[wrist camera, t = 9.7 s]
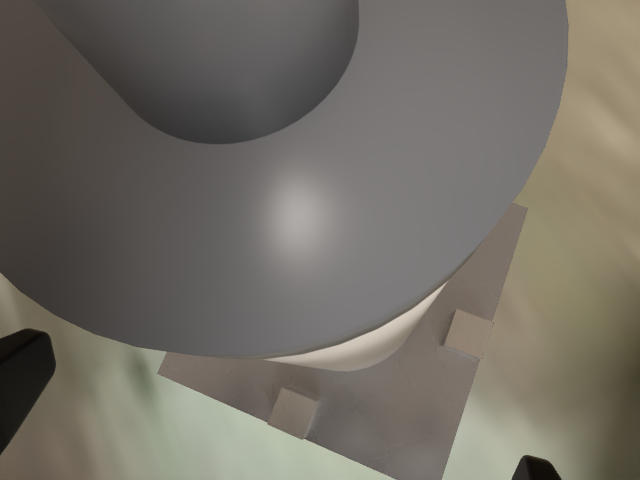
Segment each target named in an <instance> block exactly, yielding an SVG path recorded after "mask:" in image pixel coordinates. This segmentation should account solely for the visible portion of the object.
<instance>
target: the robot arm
mask: <svg viewBox="0 0 640 480" xmlns="http://www.w3.org/2000/svg"><path fill="white" fill-rule="evenodd" d="M55 368H56V360H55V356H54V352H53V347H52V343H51V338H50V336H49V335H48V334H47V333H46V332H43V331H39V330H35V329H23V330H21V331H18V332H16V333H13V334H11V335H8V336H6V337H3V338H1V339H0V455H1V453H2V452H3V451H4V449H5V448H6V447H7V445H8V444H9V443H10V441H11V440H12V438H13V437H14V435H15V434H16V432H17V431H18V429H19V428H20V426H21V424H22V423H23V421H24V420H25V418H26V417H27V415H28V414H29V412H30V410H31V409H32V407H33V406H34V404H35V403H36V401H37V399H38V398H39V396H40V395H41V393H42V392H43V390H44V389H45V387H46V385H47V384H48V382H49V381H50V379H51V378H52V376H53V374H54V371H55ZM512 480H562V479H561V478H560V476H559V474H558V473H557V471H556V470H555V468H554V467H553V465H552V464H551V463H550V462H549V461H547V460H545V459H541V458H537V457H533V456H529V455H525V456H523V457H522V458H521V460H520V462H519V464H518V466H517V468H516V471H515V473H514V475H513V477H512Z"/></svg>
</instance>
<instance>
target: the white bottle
mask: <svg viewBox="0 0 640 480" xmlns="http://www.w3.org/2000/svg"><path fill="white" fill-rule="evenodd" d="M568 26H569V25H568V17H567V10H566V2H565V0H0V273H1V274H3V275H4V276H5V277H6V278H7V279H8V280H9V281H10V282H11V283H12V284H13V285H14V286H15V287H16V288H17V289H18V290H19V291H20V292H22V293H23V294H25V295H26V296H28V297H29V298H31V299H32V300H34V301H35V302H37V303H38V304H39V305H41V306H42V307H44V308H45V309H47V310H48V311H50V312H51V313H53V314H54V315H56V316H58V317H60V318H62V319H64V320H66V321H68V322H70V323H72V324H75V325H77V326H79V327H81V328H83V329H85V330H87V331H89V332H91V333H93V334H96V335H100V336H103V337H106V338H109V339H113V340H116V341H119V342H122V343H126V344H129V345H132V346H136V347H141V348H147V349H154V350H160V351H167V352H173V353H180V354H187V355H195V356H203V357H212V358H220V359H262V360H269V361H275V362H281V363H288V364H294V365H300V366H307V367H313V368H320V369H326V370H332V371H354V370H360V369H364V368H368V367H370V366H373V365H375V364H378V363H379V362H381V361H383V360H385V359H386V358H388V357H389V356H390V355H392V354H393V353H394V352H395V351H396V350H397V349H398V348H399V347H400V346H401V345H402V344H403V343H404V342H405V340H406V339H407V338H408V336H409V335H410V334H411V332H412V331H413V329H414V328H415V326H416V325H417V324H418V322H419V321H420V319H421V318H422V317H423V315H424V314H425V312H426V311H427V310H428V308H429V307H430V305H431V304H432V303H433V301H434V300H435V298H436V297H437V296H438V294H439V293H440V291H441V290H442V289H443V287H444V286H445V284H446V283H447V282H448V280H449V279H450V278H451V277H452V276H453V275H454V274H455V273H456V272H457V271H458V270H459V269H460V268H461V267H462V266H463V265H464V264H465V263H466V261H467V260H468V259H469V258H470V257H471V256H472V255H473V254H474V252H475V251H476V250H477V248H478V247H479V246H480V244H481V243H482V242H483V240H484V239H485V238H486V237H487V235H488V234H489V233H490V231H491V230H492V229H493V227H494V226H495V225H496V223H497V222H498V221H499V219H500V218H501V217H502V215H503V214H504V213H505V211H506V210H507V209H508V207H509V206H510V204H511V203H512V202H513V200H514V199H515V198H516V196H517V195H518V194H519V192H520V191H521V190H522V188H523V187H524V185H525V183H526V181H527V179H528V177H529V176H530V174H531V172H532V170H533V168H534V166H535V164H536V163H537V161H538V159H539V157H540V155H541V153H542V151H543V149H544V148H545V145H546V142H547V139H548V137H549V134H550V131H551V128H552V125H553V123H554V120H555V117H556V114H557V111H558V109H559V105H560V100H561V95H562V90H563V85H564V79H565V74H566V69H567V56H568Z"/></svg>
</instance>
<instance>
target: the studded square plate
mask: <svg viewBox="0 0 640 480" xmlns="http://www.w3.org/2000/svg"><path fill="white" fill-rule="evenodd" d="M527 210H528V208H527V207H524V206H520V205H517V204H514V203H511V204H510V206H509V207H508V209H507V210H506V211H505V213H504V214H503V215H502V217H501V218H500V219H499V221H498V222H497V223H496V225H495V226H494V227H493V229H492V230H491V231H490V233H489V234H488V235H487V237H486V238H485V239H484V240H483V242H482V243H481V244H480V246H479V247H478V248H477V250H476V251H475V252H474V254H473V255H472V256H471V257H470V258H469V259H468V260H467V261H466V263H465V264H464V265H463V266H462V267H461V268H460V269H459V270H458V271H457V272H456V273H455V274H454V275H453V276H452V277H451V278H450V279H449V280H448V282H447V283H446V284H445V286H444V287H443V289H442V290H441V291H440V293H439V294H438V296H437V297H436V298H435V300H434V301H433V303H432V304H431V305H430V307H429V308H428V310H427V311H426V312H425V314H424V315H423V317H422V318H421V319H420V321H419V322H418V324H417V325H416V326H415V328H414V329H413V331H412V332H411V334H410V335H409V336H408V338H407V339H406V340H405V342H404V343H403V344H402V345H401V346H400V347H399V348H398V349H397V350H396V351H395V352H394V353H393V354H392V355H390V356H389V357H388V358H386V359H385V360H383V361H381V362H379V363H378V364H375V365H373V366H370V367H368V368H364V369H360V370H354V371H332V370H326V369H320V368H313V367H307V366H300V365H294V364H288V363H281V362H275V361H269V360H262V359H220V358H212V357H203V356H195V355H187V354H180V353H173V352H167V353H166V355H165V358H164V360H163V362H162V364H161V366H160V369H159V371H158V373H157V374H159V375H161V376H164V377H166V378H168V379H171V380H173V381H175V382H177V383H180V384H182V385H184V386H186V387H189V388H191V389H193V390H195V391H198V392H200V393H202V394H204V395H207V396H209V397H211V398H213V399H216V400H218V401H220V402H222V403H225V404H227V405H229V406H232V407H234V408H236V409H238V410H241V411H243V412H245V413H247V414H250V415H252V416H254V417H256V418H259V419H261V420H263V421H265V422H268V423H267V424H268V425H270V426H272V427H275V428H277V429H279V430H281V431H284V432H286V433H288V434H290V435H293V436H295V437H297V438H299V439H302V440H303V439H306V440H308V441H311V442H313V443H315V444H317V445H320V446H322V447H324V448H326V449H329V450H331V451H333V452H336V453H338V454H340V455H342V456H345V457H347V458H349V459H351V460H354V461H356V462H358V463H360V464H363V465H365V466H367V467H369V468H372V469H374V470H376V471H378V472H381V473H383V474H385V475H388V476H390V477H392V478H394V479H397V480H441V479H442V476H443V473H444V470H445V467H446V464H447V461H448V458H449V454H450V451H451V448H452V445H453V442H454V439H455V436H456V432H457V429H458V426H459V423H460V420H461V417H462V414H463V411H464V407H465V404H466V401H467V398H468V395H469V392H470V389H471V386H472V382H473V379H474V376H475V373H476V370H477V367H478V364H479V361H480V359H482V358H483V355H484V352H485V349H486V346H487V343H488V340H489V337H490V333H491V330H492V327H493V324H494V322H492V320H493V317H494V314H495V310H496V307H497V304H498V301H499V298H500V295H501V292H502V289H503V285H504V282H505V279H506V276H507V273H508V270H509V267H510V263H511V260H512V257H513V254H514V251H515V248H516V245H517V242H518V238H519V235H520V232H521V229H522V226H523V223H524V220H525V217H526V213H527Z"/></svg>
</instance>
